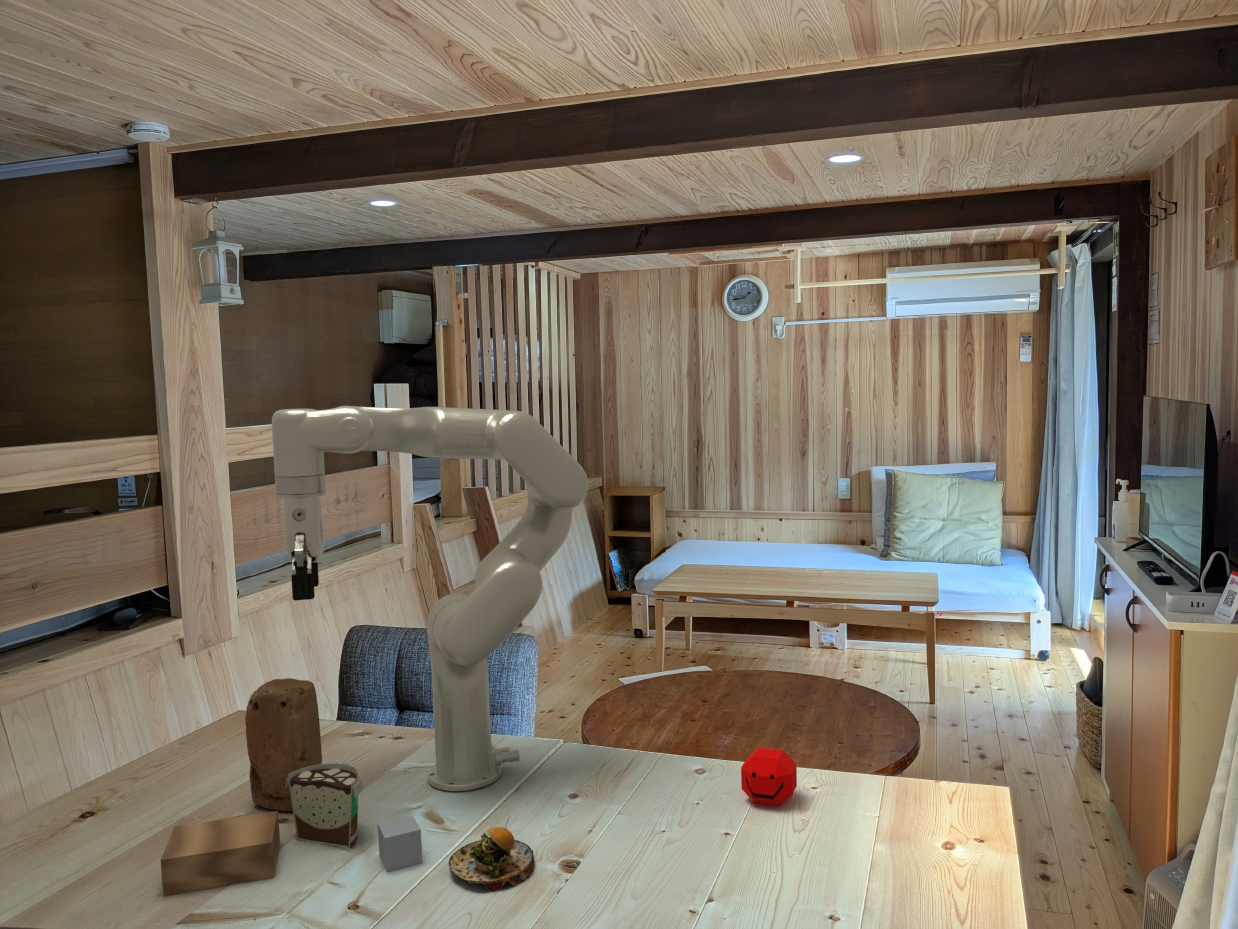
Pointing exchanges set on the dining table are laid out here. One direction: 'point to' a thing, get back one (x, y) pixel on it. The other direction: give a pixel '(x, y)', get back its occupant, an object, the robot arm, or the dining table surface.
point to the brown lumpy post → (281, 738)
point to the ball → (769, 776)
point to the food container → (326, 803)
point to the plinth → (220, 853)
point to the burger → (493, 860)
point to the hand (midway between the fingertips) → (306, 592)
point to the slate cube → (400, 843)
